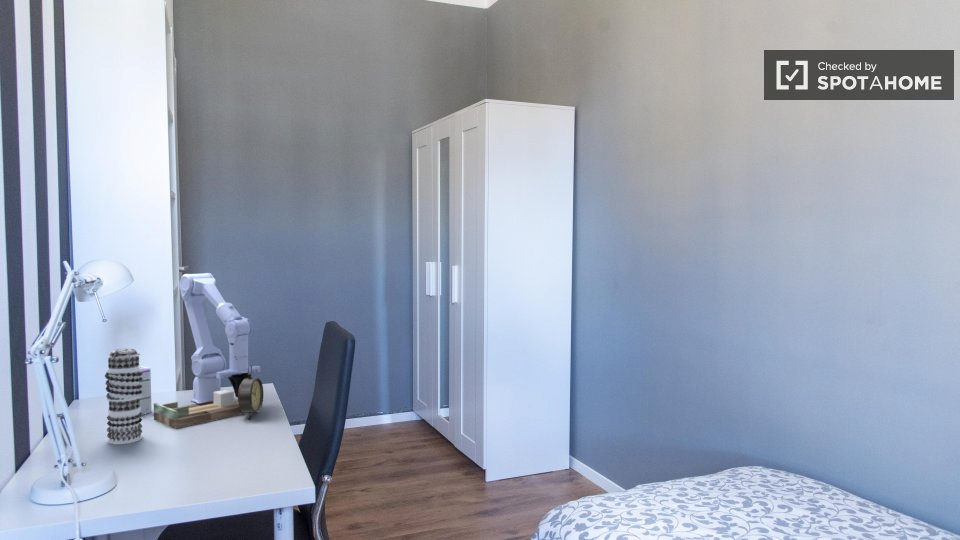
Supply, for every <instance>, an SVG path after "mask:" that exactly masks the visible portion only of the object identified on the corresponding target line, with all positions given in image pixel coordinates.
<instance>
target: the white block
mask: <svg viewBox="0 0 960 540" xmlns="http://www.w3.org/2000/svg"><path fill="white" fill-rule="evenodd" d="M234 400H235V392H234V390H229V389H223V390H222V389H221V391H216V392H214V405H217V406H220V407H222V406H227V405H232V404H234Z"/></svg>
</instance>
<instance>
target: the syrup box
mask: <svg viewBox="0 0 960 540" xmlns="http://www.w3.org/2000/svg"><path fill="white" fill-rule="evenodd" d="M139 372H142V375H141V376H139V377H141V378H142V379H143V380H142V381H140V382H139V384H140V385H142V387H141V388H140V389H139V390H141V391H142V393H141V397H140V407H141V413H142V414H143V415H146V414H145V413H147V414H150V413H149V412H151V413H152V411H153V409H152V379H151V378H152V376H151V375H152V373H151V367H146V366H142V365H140V371H139Z"/></svg>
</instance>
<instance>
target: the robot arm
mask: <svg viewBox="0 0 960 540" xmlns="http://www.w3.org/2000/svg"><path fill="white" fill-rule="evenodd" d="M216 284H217V281H216V279H215V277H214V276H213V274H212V273H210V272H205V273H185V274H183V275H182V276H181V278H180V280H179V283H178V287H179V289H180V295H181V297H182V300H183V302H184V307H185V309H186V314H187V317H188V322H189V325H190V329H191V333H192V336H193V340H194V343H195V348H196V350H195V352H194V353H193V354H192V355H191V357H190V359H191V371H192V374H193V375H194V376H195V377H194V378H193V379H194V380H193V382H192V388H193V389H192V396H193V397H192V399H190V402H192V403H195V404H197V403H202V402H208V401H213V400H214V392H216V391H222V388H221V385H222V382H221V381H222V380H221V379H224V378H227V379H228V380H229V382H230V384H231V386H232V389H233V392H234V397H236V398H238V391H239V387H240V384H241V382H242V381H243V380H244V379H246V378H249V376H248V367H249V335H251V334H252V330H253V325H252V322H251V321H250V319H249V318H247V317H244V316H242V315H241V314H240V313H239V312H238V310H237V309H236V308H235V307H234V304H233V303H231V302H227V301H226V300H225V299H224V298H223V296H222V294H221V292H220V291H219V290H218V287H217V286H216ZM205 299H208V301H209V302H210V303H211V304H212V305H213V307H214V308H216V309H215V313H216V315H217V317H218V318H219V319H220V321H221V322H222V323H223V325H224V326H225V328H224V332H225V334H226V337H227V342H228V343H229V345H228V346H229V351H228V353H229V368H228V369H226V367H227V360H226V358H225V356H224V355H223V353H222V350H221V349H220V348H218V347H216V346H215V345H214V344H213V339H212V336H211V335H212V334H211V331H210V328H209V324H208V320H207V317H206V313H205V309H204V306H203V301H204V300H205ZM251 366H252V373H251ZM251 366H250V367H249V374H250V373H251V374H254V373H261V366H260V365H251Z"/></svg>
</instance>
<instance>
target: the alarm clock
mask: <svg viewBox="0 0 960 540" xmlns="http://www.w3.org/2000/svg"><path fill="white" fill-rule="evenodd" d="M250 366H251V373H249V367H250ZM252 366H253V365H251V364H248V376H249V378H246V379H244V380H243V381H242V382H241V384H240V387H239V391H238V397H237V401H238V404H239V407H240V410H241V411H242V412H243V413H244V414H243V415H245V414H247V420H250V417H251V414H258V413H259V412H260V411H261V409H262V407H263V402H264V387H263V382H262V380H261V379H260V378H259V377H252V374H253V373H252Z"/></svg>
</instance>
